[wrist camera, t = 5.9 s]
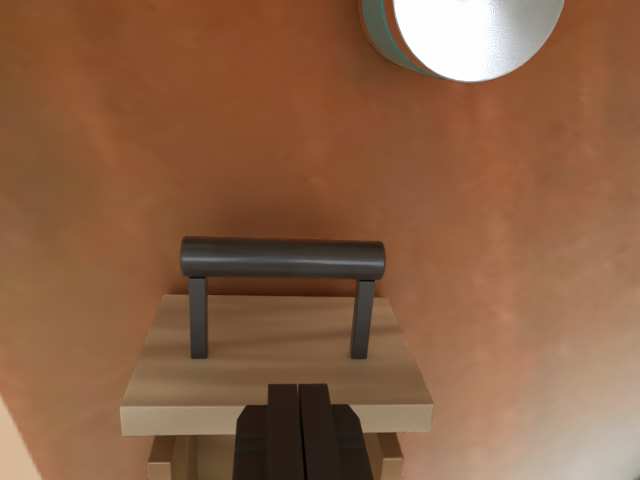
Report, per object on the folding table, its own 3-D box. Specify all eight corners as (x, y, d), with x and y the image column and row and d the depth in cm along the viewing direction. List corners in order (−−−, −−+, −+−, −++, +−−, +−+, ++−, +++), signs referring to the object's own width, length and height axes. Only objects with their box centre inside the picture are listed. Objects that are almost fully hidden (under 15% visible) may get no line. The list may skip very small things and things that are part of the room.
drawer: (158, 194, 23) (106, 273, 15) (399, 202, 24) (457, 279, 16) (173, 514, 29) (142, 675, 22) (361, 509, 30) (391, 660, 23)
